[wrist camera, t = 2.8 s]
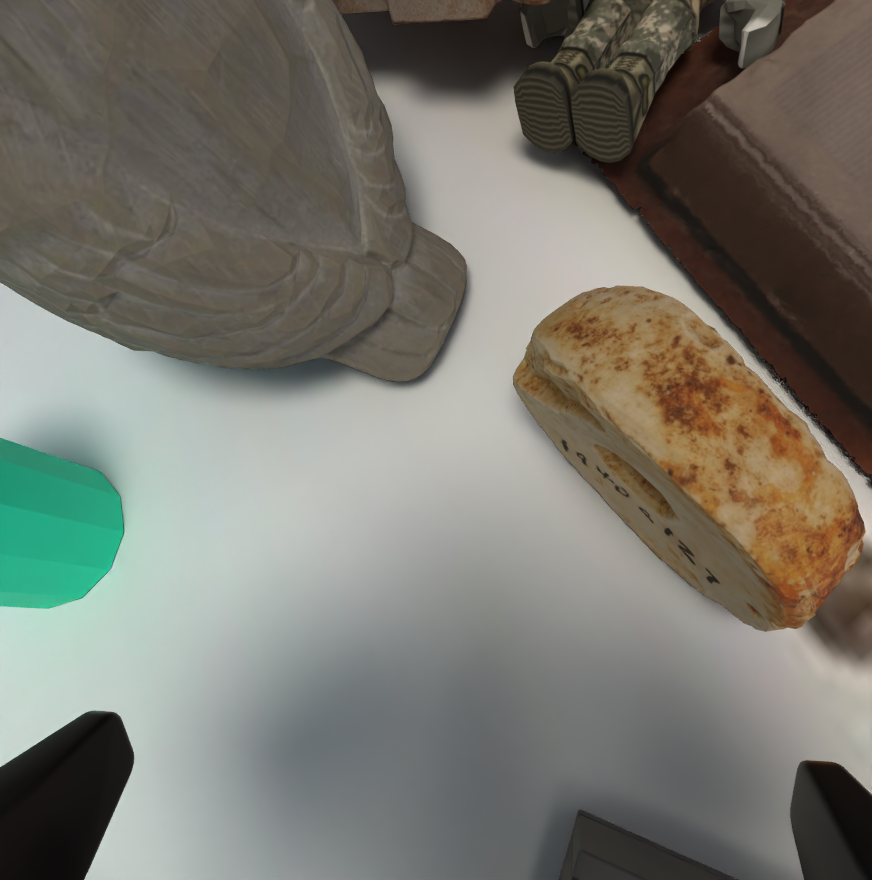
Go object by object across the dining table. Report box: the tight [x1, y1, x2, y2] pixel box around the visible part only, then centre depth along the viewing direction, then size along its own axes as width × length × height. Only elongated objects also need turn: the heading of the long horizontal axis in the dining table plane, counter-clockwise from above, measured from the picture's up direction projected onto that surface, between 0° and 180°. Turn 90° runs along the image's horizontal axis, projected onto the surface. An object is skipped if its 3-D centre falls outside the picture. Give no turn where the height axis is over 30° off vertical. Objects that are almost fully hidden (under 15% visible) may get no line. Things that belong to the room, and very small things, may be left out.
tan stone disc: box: [513, 286, 865, 632], centre depth 18 cm, size 10×4×10 cm, turn 38°
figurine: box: [0, 0, 467, 382], centre depth 19 cm, size 14×16×20 cm
